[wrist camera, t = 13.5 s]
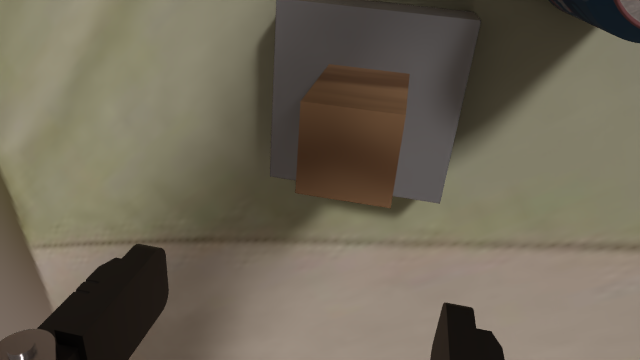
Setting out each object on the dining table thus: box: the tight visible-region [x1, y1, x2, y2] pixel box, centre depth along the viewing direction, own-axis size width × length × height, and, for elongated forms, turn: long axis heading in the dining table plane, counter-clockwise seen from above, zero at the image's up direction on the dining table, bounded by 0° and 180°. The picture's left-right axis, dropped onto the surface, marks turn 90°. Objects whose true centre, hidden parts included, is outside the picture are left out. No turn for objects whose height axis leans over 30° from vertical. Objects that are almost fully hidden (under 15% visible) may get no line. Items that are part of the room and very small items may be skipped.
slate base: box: [270, 0, 481, 204], centre depth 32 cm, size 12×12×4 cm
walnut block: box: [295, 64, 410, 208], centre depth 27 cm, size 5×5×8 cm
